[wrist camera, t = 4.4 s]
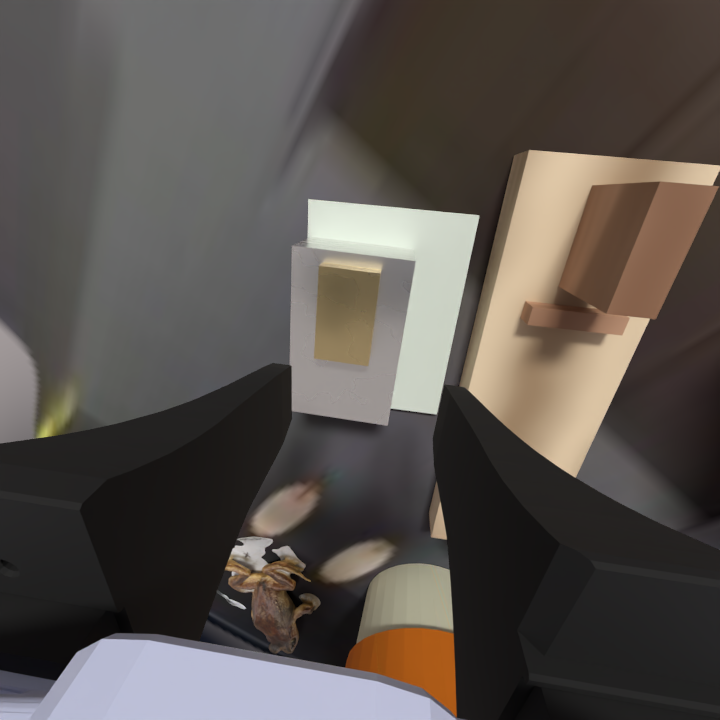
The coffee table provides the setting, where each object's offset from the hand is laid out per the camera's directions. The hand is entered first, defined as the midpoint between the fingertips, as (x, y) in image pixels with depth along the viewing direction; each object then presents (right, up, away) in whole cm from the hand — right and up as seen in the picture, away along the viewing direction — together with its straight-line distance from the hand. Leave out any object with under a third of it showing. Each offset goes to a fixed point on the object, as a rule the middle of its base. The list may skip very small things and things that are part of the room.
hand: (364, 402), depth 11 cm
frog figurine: (-8, -18, +20) cm, 28 cm away
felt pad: (+1, +4, +8) cm, 9 cm away
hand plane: (+9, 0, +9) cm, 13 cm away
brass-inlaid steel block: (0, +4, +8) cm, 8 cm away
